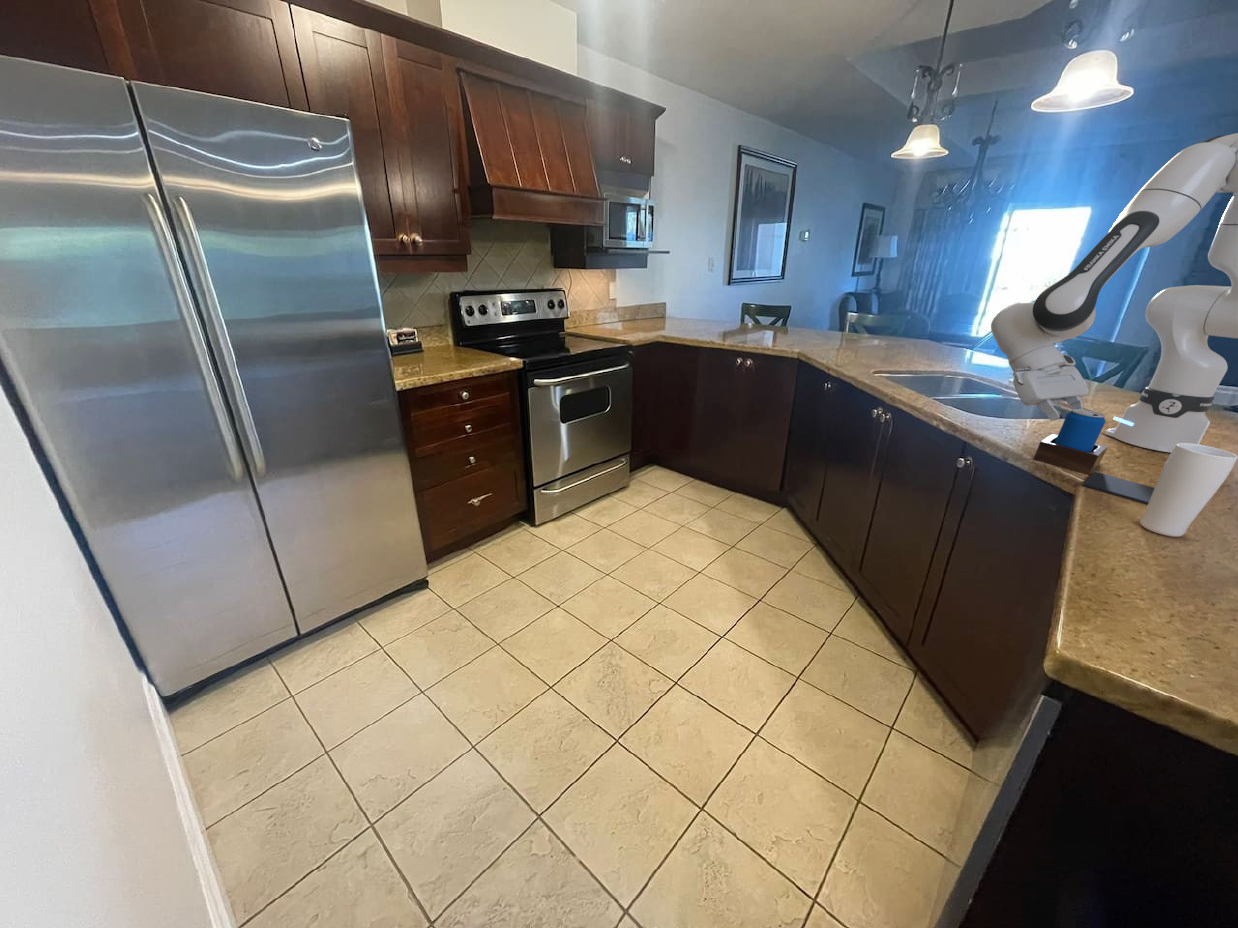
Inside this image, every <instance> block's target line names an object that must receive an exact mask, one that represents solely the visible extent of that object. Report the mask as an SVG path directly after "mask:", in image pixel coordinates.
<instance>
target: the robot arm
mask: <svg viewBox="0 0 1238 928" xmlns="http://www.w3.org/2000/svg"><path fill="white" fill-rule="evenodd" d="M1136 193H1137V194H1135V195H1134V197H1133V198H1132V199H1131V200H1130V201H1129V203H1128V204H1127V205H1126V207H1125V208H1124V209H1123V211H1122V212H1121V213H1120V214H1119V216H1118V218H1117V219H1116V221H1115V222H1114V223H1113V225H1112V227H1111V228H1110V229H1109V230H1108V232H1107V233H1106V234H1105V236H1104V237H1102V239H1100V241H1099V242H1098V243H1097V244H1096V245H1095V246H1094V247H1093V248H1092V249H1091V250H1090V251H1089V253H1088V254H1087V255H1086V256H1084V258H1083V259H1082V260H1081V262H1079V264H1078V265H1076V267H1075V268H1073V270H1072V271H1070V272H1069V273H1068V274H1067V275H1066V276H1064V277H1063V278H1061V279H1060V280H1058V281H1057V282H1055V283H1053V284H1051V285H1050V286H1049V287H1047V288H1045V289H1044V290H1043V291H1042V292H1041V293H1040V294H1039V295H1038V296H1037V297H1036V299H1035V301H1034V302H1021V301H1019V302H1015V303H1012V304H1010V305H1008V306H1006V307H1005V308H1003V309H1002V310H1000V312H998V313H997V314H996V315H995V316H994V317H993V319H992V321H991V323H990V329H991V334H992V336H993V338H994V340H995V343H996V344H997V346H998V349H1000V351H1001V353H1003V354H1004V355H1005V356H1006V358H1007V361H1008V365H1009V367H1010V368H1011V371H1012V372H1013V373H1012V376H1013V379H1012V383H1013V386H1014V389H1015V392H1016V394H1017V395H1018V397H1019V399H1020V401H1021V403H1023V405H1025V406H1027V407H1030V406H1037V407H1038V409H1039V410H1040V411H1041V412H1042V413H1044V414H1045V415H1046V417H1047V418H1048V419H1049V421H1058V420H1060V419H1062V418H1063V415H1062V414H1061V411H1060V410H1057V409H1056V408H1055V406H1054V405H1053V404H1054V403H1055V404H1056V403H1063V402H1066V403H1067V405H1068V406H1070V409H1071V410H1072V409H1083V410H1085V409H1084V404H1083V400H1082V398H1083V397H1085V396H1087V395H1088V394H1089V387H1088V385H1087V383H1086V381H1085V379H1084V378H1083V376H1082V374H1081V373H1080V371H1079V370H1078V369H1077V367H1075V365H1076V363H1077V362H1076V361H1075V359H1074V358H1073V357H1072V356H1071V355H1067V354H1064V353H1063V352H1061V351H1060V350H1058V349H1057V347H1056V346H1055V345H1054V344H1058V343H1061V342H1065V341H1068V340H1072V339H1075V338H1077V337H1079V336H1081V335H1083V334H1084V333H1086V332H1087V331H1089V330H1090V329H1091V327H1093V325H1094V324H1095V321H1096V316H1097V315H1096V314H1097V309H1096V305H1097V301H1098V299H1099V295H1100V292H1101V290H1102V289H1103V287H1104V286H1105V285H1106V284H1107V282H1109V281H1110V279H1112V277H1113V276H1114V275H1115V274H1116V273H1117V272H1118V271H1119V270H1120V269H1121V268H1122V267H1123V266H1124V265H1125V264H1126V262H1127V261H1129V260H1130V258H1131V257H1132V256H1133V255H1135V254H1136V253H1137V252H1138V251H1140V250H1142V249H1143V248H1144V249H1145V248H1152V247H1157V246H1159V245H1160V246H1161V245H1162V244H1165V243H1166V242H1168V241H1169V240H1171V239H1172V238H1173V237H1175V236H1176V235H1177V234H1178V233H1180V231H1182V230H1183V229H1184V228H1185V227H1186V226H1187V225H1188V224H1189V223H1190V222H1191V221H1192V220H1193V219H1194V218H1195V217H1196V216H1197V215H1198V214H1200V213H1199V212H1201V211H1202V209H1203V208H1204V207H1205V206H1206V205H1207V204H1208V202H1210V200H1211V199H1212V198H1213V196H1214V195H1215V194H1217V193H1221V194H1223V193H1232V197H1231V199H1230V201H1229V202H1228V204H1227V207H1226V209H1225V210H1224V213H1223V214H1222V217H1221V219H1220V222H1219V225H1218V228H1217V230H1216V233H1215V235H1214V238H1213V240H1212V243H1211V245H1210V248H1209V251H1208V253H1207V260H1208V263H1209V265H1211V267H1213V268H1215V269H1217V270H1218V271H1220V272H1223V273H1224V274H1226V275H1227V277H1228V278H1229V281H1230V283H1231V284H1230V285H1231V286H1227V285H1226V286H1224V285H1201V284H1195V285H1194V284H1191V285H1181V286H1172V287H1167V288H1165V289H1163V290H1161V291H1160V292H1158V293H1157V294H1155V295H1154V296H1153V297H1152V298H1151V300H1149V302H1148V303H1147V305H1146V307H1145V311H1144V318H1145V321H1146V323H1147V324H1148V325H1149V326H1150V327H1151V328H1152V329H1153V330H1154V331H1155V333H1156V335H1157V337H1158V339H1159V342H1160V351H1161V352H1160V358H1159V361H1158V364H1157V366H1156V368H1155V371H1154V374H1153V376H1152V378H1151V380H1150V382H1149V384H1148V385H1147V386H1145V387H1144V389H1143V391H1142V392H1141V395H1140V396H1139V401H1138V402H1137V403H1134V404H1131V405H1129V406H1127V407H1126V408H1125V410H1124V412H1123V414H1122V416H1121V417H1117V416H1113V420H1114V421H1117V422H1118V423H1117V425H1116V426H1115V427H1112V428H1108V429H1105V430H1104V431H1103V435H1106V436H1109V437H1112V438H1114V439H1117V440H1118V441H1120V442H1123V443H1126V444H1129V445H1132V446H1135V447H1136V446H1137V447H1140V448H1144V449H1149V450H1153V451H1158V452H1164V453H1170V454H1171V452H1172V451H1173V449H1174V447H1175V446H1176V444H1178V443H1193V444H1200V445H1202V444H1201V441H1202V440H1203V439H1204V437H1205V434H1206V432H1207V430H1208V429H1209V427H1210V424H1211V421H1210V420H1209V418H1208V417H1207V415H1206V412H1208V411H1209V409H1210V407H1211V406H1212V405H1213V402H1214V399H1215V397H1214V394H1215V393H1216V391H1217V389H1218V387H1219V385H1220V384H1221V382H1222V380H1223V378H1224V377H1225V375H1226V373H1227V371H1228V368H1229V367H1228V363H1227V360H1226V359H1225V358H1224V357H1223V356H1221V354H1218V353H1217V352H1215V351H1213V350H1212V349H1211V348H1210V347H1209V344H1208V339H1209V336H1211V337H1219V338H1220V337H1221V338H1230V339H1238V132H1236V133H1231V134H1226V135H1225V134H1222V135H1221V134H1220V135H1217V136H1213V137H1210V138H1207V139H1204V140H1202V141H1200V142H1198V143H1195V144H1192V145H1189V146H1187V147H1185V148H1183V149H1182V150H1180V151H1179V152H1178V153H1177V154H1175V155H1174V156H1173V157H1172V158H1170V160H1168V162H1166V163H1165V164H1164V165H1163V166H1162V167H1161V168H1160V169H1159V170H1158V171H1157V172H1155V174H1154V175H1153V176H1152V177H1151V178H1150V179H1149V180H1147V182H1146V183H1145V184H1144V185H1143V187H1141V189H1140V190H1139V191H1138V192H1136Z"/></svg>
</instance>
